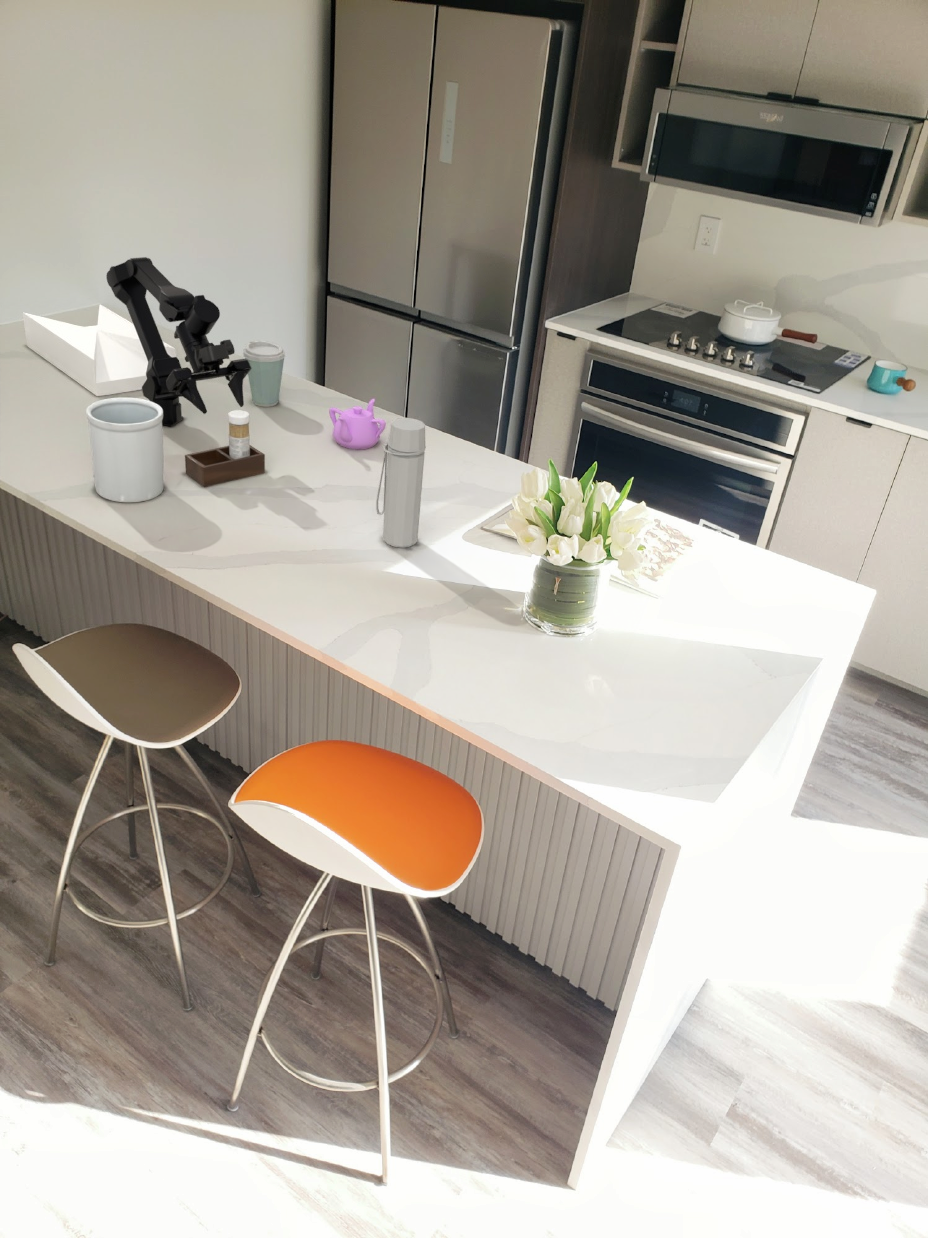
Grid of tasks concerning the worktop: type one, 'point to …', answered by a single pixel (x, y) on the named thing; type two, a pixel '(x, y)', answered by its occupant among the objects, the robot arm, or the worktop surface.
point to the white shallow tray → (92, 351)
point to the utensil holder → (126, 448)
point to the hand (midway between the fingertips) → (224, 409)
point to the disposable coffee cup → (264, 371)
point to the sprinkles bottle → (239, 434)
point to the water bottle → (403, 482)
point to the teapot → (356, 427)
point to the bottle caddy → (222, 466)
